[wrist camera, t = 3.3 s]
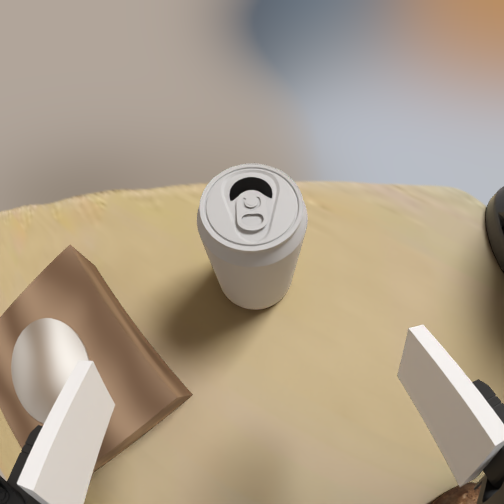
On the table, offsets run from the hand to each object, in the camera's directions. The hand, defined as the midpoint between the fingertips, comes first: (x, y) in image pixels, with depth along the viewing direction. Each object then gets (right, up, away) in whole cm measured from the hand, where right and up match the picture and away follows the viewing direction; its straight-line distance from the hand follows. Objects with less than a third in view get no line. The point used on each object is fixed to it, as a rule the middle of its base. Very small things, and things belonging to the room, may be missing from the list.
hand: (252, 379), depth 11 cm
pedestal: (-16, -7, +12) cm, 21 cm away
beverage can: (0, +3, +16) cm, 16 cm away
